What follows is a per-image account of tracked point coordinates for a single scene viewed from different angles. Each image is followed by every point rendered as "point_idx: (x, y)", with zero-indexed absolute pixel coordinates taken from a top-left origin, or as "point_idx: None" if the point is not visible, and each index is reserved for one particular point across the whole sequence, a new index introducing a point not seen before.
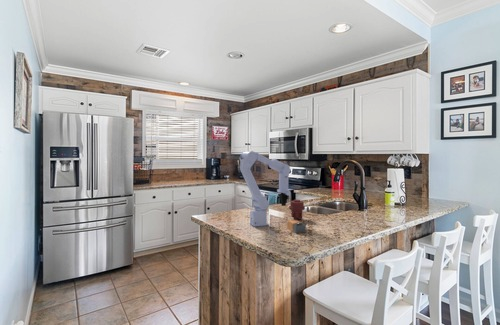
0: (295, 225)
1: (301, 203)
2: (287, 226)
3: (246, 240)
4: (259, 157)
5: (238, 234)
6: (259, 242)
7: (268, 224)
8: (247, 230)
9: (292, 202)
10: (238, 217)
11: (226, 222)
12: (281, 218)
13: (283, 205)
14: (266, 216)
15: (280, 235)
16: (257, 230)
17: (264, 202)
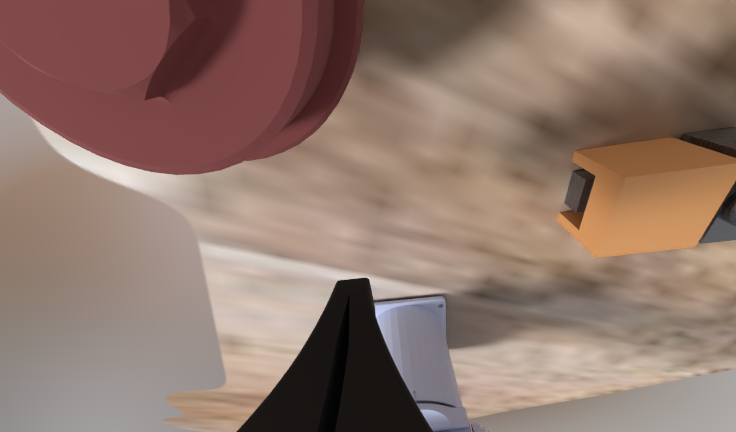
0: None
1: None
2: (568, 229)
3: (611, 389)
4: None
5: (526, 397)
6: (667, 365)
7: (442, 302)
8: (489, 373)
9: (247, 158)
10: (240, 374)
11: None
12: (250, 174)
13: (373, 303)
14: (434, 351)
15: (653, 288)
16: (508, 348)
17: None
